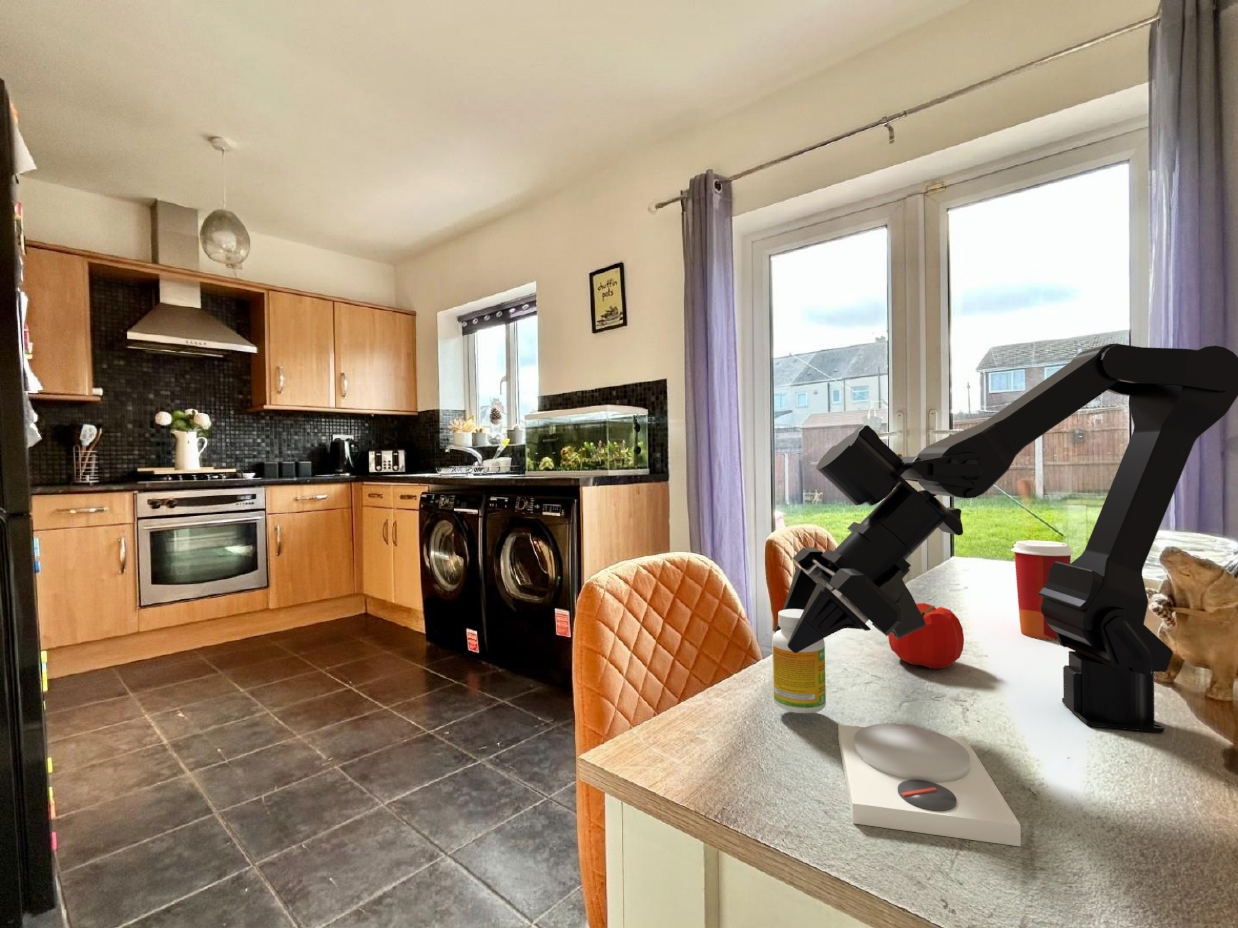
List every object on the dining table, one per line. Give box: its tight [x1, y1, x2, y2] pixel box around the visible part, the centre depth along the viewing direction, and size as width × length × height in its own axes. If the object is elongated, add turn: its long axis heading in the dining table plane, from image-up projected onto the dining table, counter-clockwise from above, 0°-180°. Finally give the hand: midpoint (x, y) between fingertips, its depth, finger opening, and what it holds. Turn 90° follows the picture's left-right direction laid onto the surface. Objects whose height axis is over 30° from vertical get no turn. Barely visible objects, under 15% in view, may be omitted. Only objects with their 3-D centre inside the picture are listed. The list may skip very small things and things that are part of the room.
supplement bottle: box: [771, 609, 827, 714], centre depth 65 cm, size 5×5×10 cm
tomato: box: [887, 602, 965, 670], centre depth 81 cm, size 9×9×8 cm
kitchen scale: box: [837, 723, 1022, 847], centre depth 51 cm, size 11×14×2 cm
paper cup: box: [1010, 539, 1074, 641], centre depth 93 cm, size 8×8×14 cm
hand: (784, 641), depth 65 cm, fingers closed on supplement bottle, 5 cm apart
